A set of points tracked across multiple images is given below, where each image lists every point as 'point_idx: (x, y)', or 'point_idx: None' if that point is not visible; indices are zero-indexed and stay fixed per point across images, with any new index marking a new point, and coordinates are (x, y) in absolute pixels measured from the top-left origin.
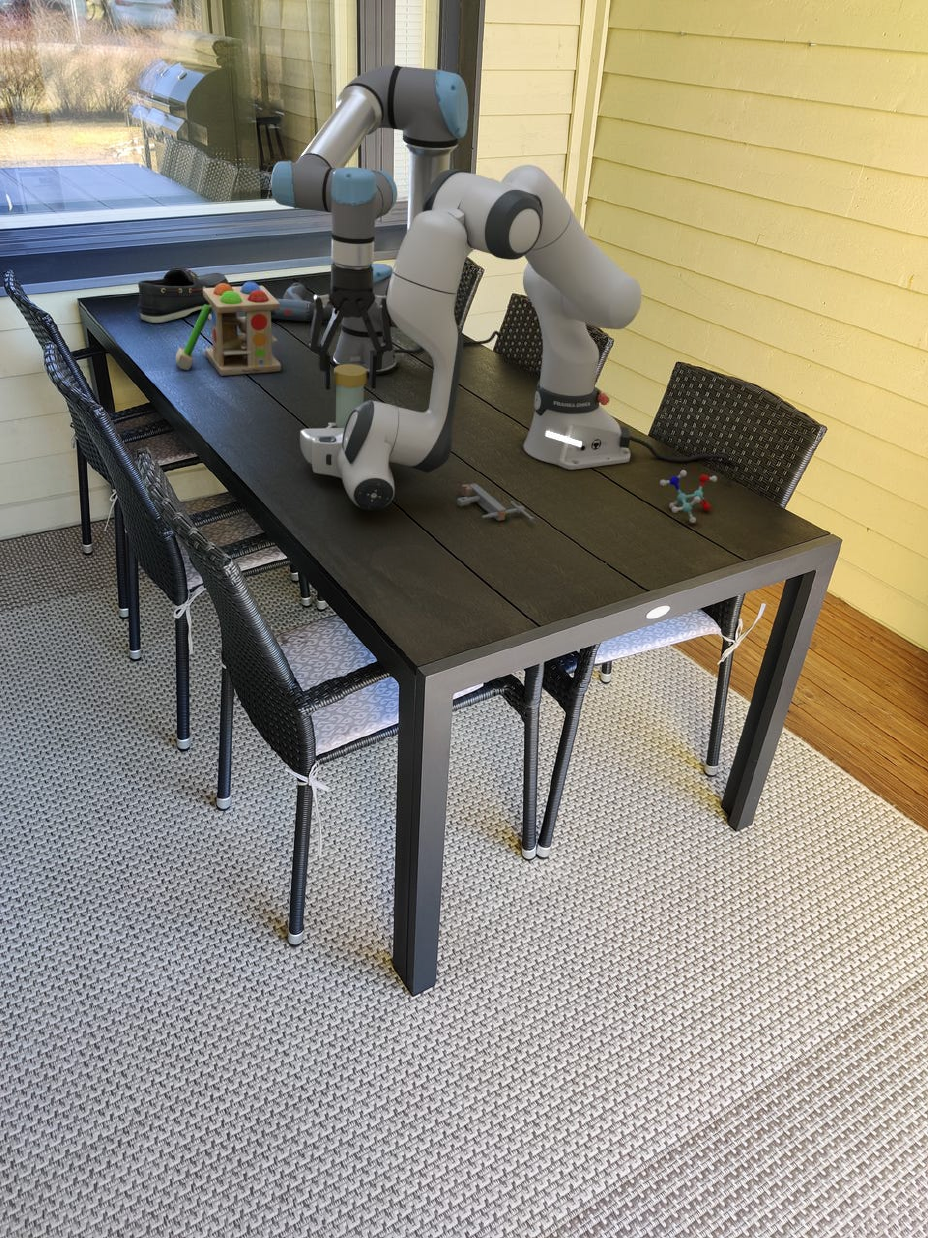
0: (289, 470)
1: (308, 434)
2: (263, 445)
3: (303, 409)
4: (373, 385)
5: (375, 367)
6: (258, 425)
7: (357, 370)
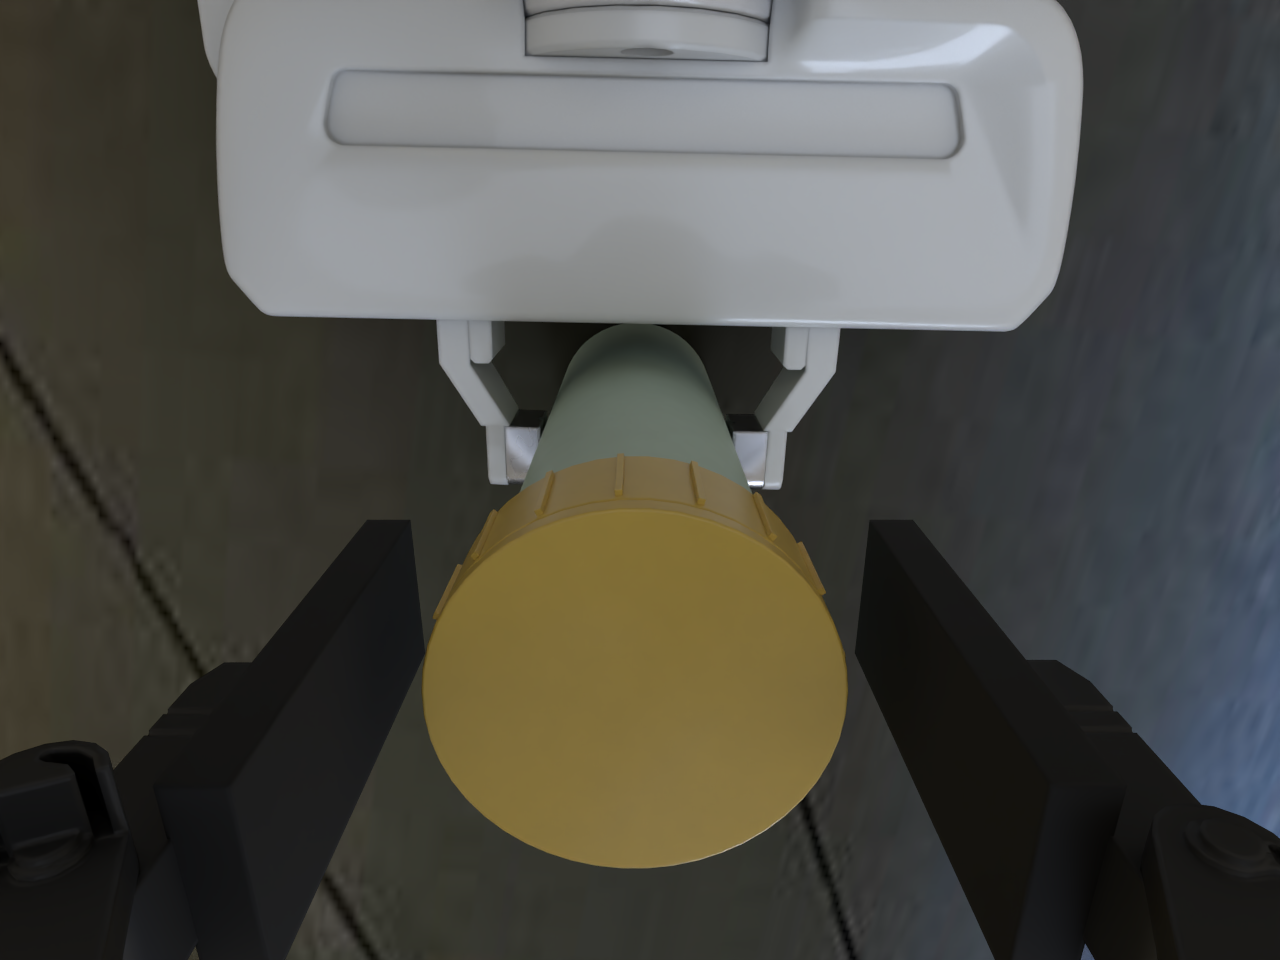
0: None
1: (1040, 157)
2: (1054, 565)
3: (761, 910)
4: (382, 535)
5: (275, 652)
6: None
7: (544, 680)
